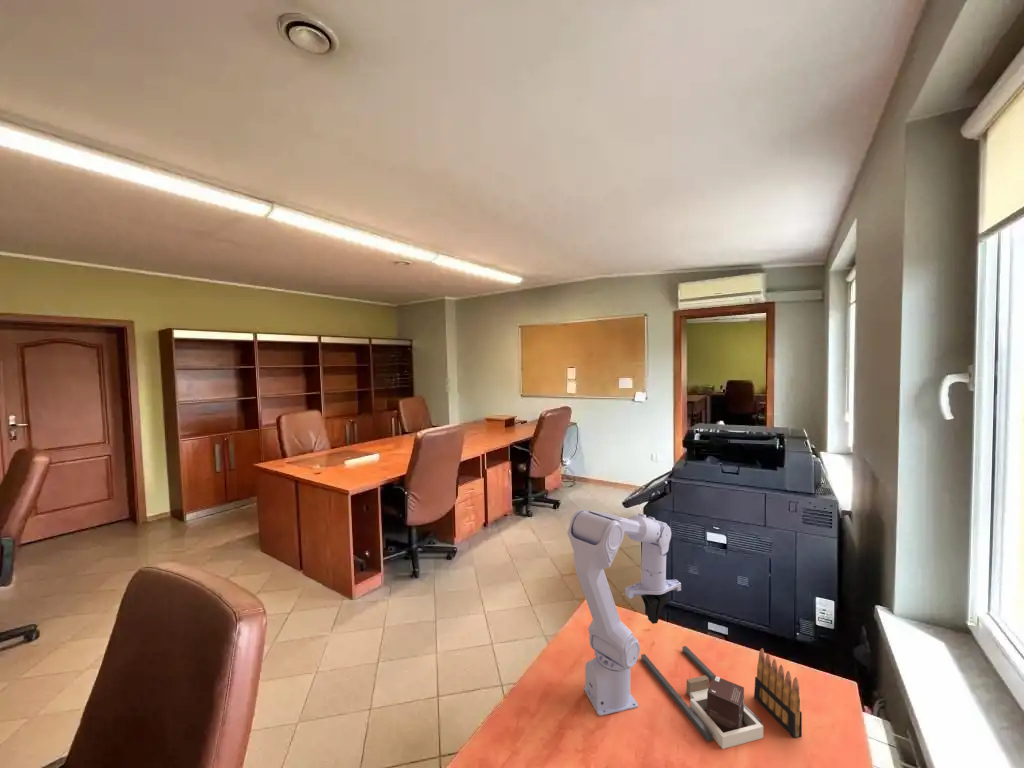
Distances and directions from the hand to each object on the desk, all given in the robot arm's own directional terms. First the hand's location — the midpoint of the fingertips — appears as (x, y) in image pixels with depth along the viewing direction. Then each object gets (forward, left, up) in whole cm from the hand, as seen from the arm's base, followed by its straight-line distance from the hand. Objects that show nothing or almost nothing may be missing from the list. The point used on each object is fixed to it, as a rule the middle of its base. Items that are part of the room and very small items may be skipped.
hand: (652, 621), depth 106 cm
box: (+4, -20, -10) cm, 23 cm away
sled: (+4, -18, -10) cm, 21 cm away
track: (+4, -11, -10) cm, 16 cm away
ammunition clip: (+16, -21, -11) cm, 29 cm away
